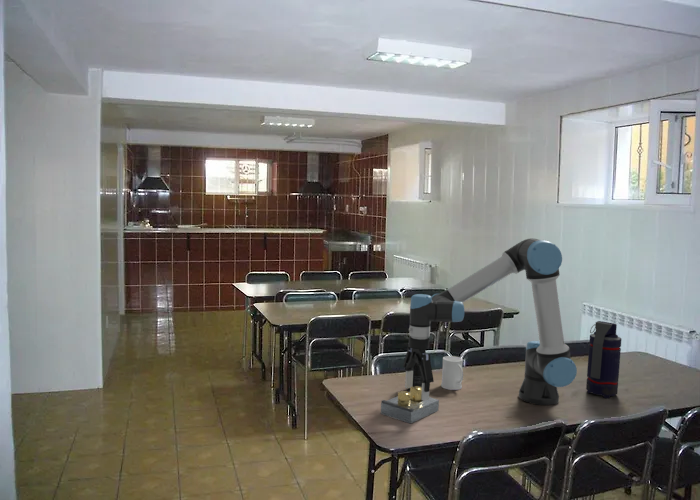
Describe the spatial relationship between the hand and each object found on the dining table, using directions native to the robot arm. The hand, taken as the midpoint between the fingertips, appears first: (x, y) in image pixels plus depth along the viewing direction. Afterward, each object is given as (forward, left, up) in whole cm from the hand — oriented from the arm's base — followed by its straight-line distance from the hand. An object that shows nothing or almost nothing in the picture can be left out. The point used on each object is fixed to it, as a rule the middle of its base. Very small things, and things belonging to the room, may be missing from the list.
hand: (416, 393), depth 215 cm
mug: (+3, -32, -6) cm, 33 cm away
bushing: (0, 0, -6) cm, 6 cm away
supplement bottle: (+12, -18, -6) cm, 23 cm away
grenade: (-44, -69, -6) cm, 83 cm away
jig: (0, +4, -6) cm, 7 cm away
